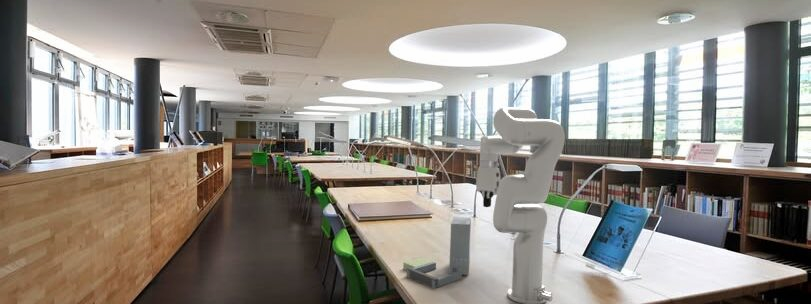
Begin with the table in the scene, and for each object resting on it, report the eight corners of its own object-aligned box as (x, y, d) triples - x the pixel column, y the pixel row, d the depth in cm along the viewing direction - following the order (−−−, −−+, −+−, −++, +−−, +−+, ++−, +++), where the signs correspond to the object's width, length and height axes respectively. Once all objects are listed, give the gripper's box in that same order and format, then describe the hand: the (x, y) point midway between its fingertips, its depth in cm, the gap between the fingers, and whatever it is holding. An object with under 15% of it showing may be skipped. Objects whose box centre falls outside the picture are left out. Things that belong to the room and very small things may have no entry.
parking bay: (461, 278, 144) (461, 270, 144) (434, 288, 135) (435, 279, 134) (433, 267, 155) (433, 260, 155) (406, 276, 146) (406, 268, 146)
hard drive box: (468, 276, 147) (470, 225, 146) (449, 274, 148) (450, 223, 147) (470, 263, 162) (471, 216, 161) (452, 261, 163) (453, 215, 163)
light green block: (432, 269, 155) (433, 261, 155) (415, 274, 149) (415, 267, 149) (420, 264, 161) (421, 257, 161) (403, 269, 154) (403, 262, 154)
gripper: (508, 165, 161) (506, 208, 162) (479, 162, 172) (478, 202, 173) (498, 166, 156) (496, 210, 157) (469, 163, 167) (467, 204, 168)
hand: (487, 206), depth 165 cm, fingers closed
